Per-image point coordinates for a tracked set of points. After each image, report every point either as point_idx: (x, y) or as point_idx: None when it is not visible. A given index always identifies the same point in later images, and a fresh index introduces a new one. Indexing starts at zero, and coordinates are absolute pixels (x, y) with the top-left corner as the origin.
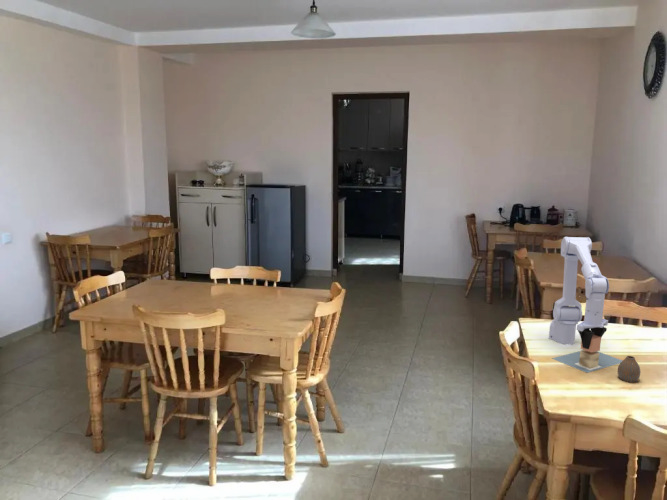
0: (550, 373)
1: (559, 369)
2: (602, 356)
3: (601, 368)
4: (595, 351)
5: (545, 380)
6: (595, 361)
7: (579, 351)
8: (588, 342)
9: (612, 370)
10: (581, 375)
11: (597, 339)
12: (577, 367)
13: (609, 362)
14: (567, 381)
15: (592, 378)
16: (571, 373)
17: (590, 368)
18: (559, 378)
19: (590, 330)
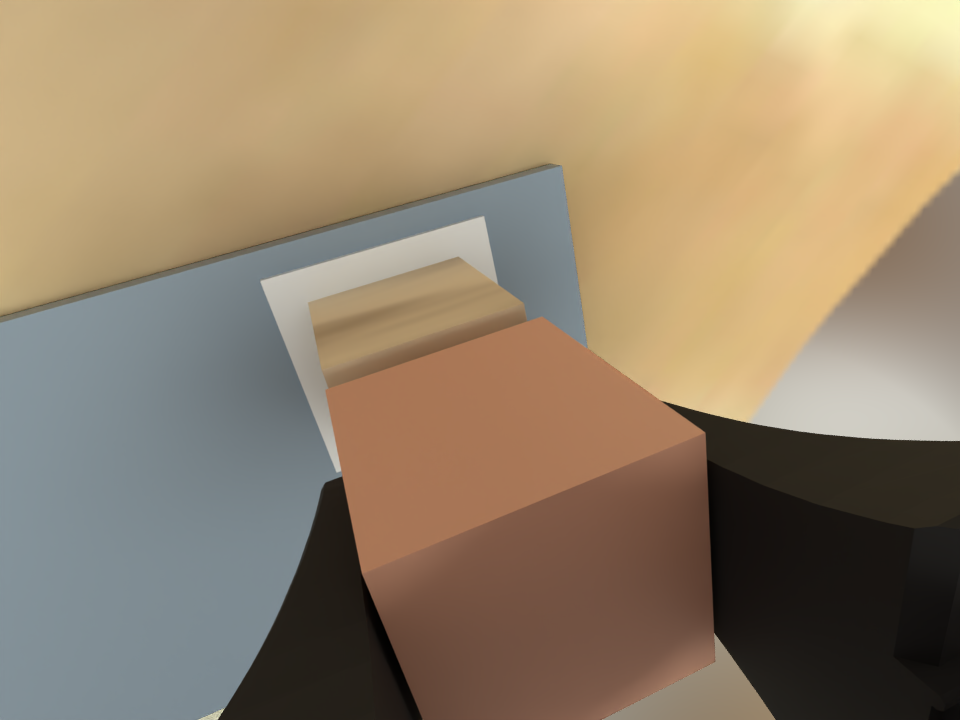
0: (807, 277)
1: (684, 343)
2: (9, 589)
3: (296, 242)
4: (446, 349)
5: (942, 154)
6: (380, 305)
7: (229, 700)
8: (711, 415)
9: (122, 211)
10: (609, 169)
11: (508, 483)
12: (554, 319)
13: (28, 407)
14: (827, 74)
15: (560, 57)
16: (659, 239)
17: (450, 256)
18: (829, 160)
19: (926, 683)
